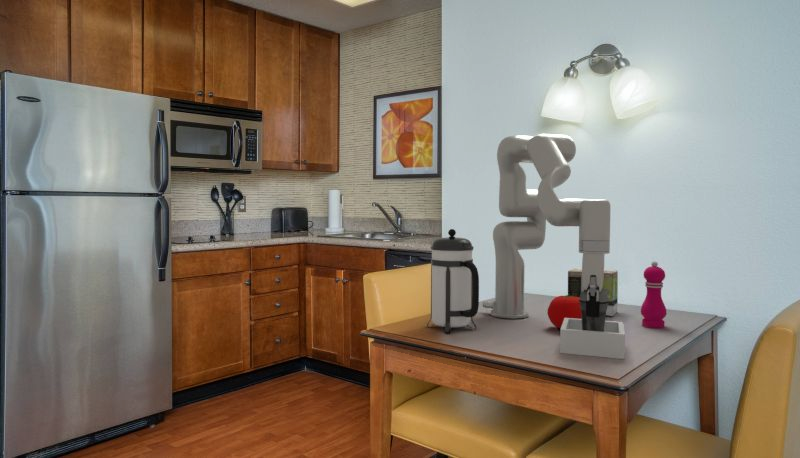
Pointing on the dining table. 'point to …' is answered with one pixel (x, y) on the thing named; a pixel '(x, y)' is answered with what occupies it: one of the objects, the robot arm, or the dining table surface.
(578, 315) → the tomato
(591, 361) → the dining table surface
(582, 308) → the beverage cup
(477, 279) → the coffee press
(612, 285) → the tea box
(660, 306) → the pepper mill
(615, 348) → the box
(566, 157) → the robot arm
